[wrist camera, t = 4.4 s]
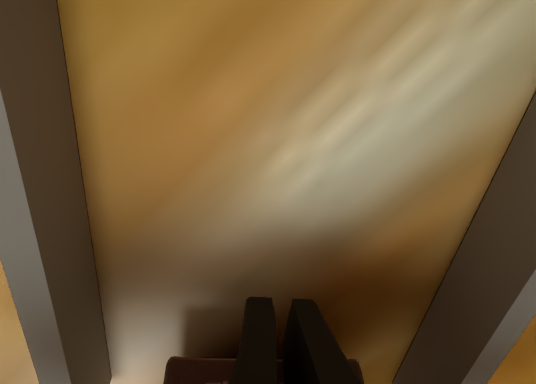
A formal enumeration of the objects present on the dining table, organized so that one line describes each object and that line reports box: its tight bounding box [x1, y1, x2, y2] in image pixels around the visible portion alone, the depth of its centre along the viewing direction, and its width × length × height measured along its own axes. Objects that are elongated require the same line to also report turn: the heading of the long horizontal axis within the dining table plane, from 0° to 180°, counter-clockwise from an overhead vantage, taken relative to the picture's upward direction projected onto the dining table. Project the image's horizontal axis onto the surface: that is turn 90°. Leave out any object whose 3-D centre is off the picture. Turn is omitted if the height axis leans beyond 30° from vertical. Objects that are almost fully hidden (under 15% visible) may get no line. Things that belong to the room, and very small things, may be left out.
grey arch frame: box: [0, 0, 536, 384], centre depth 10 cm, size 13×15×2 cm
